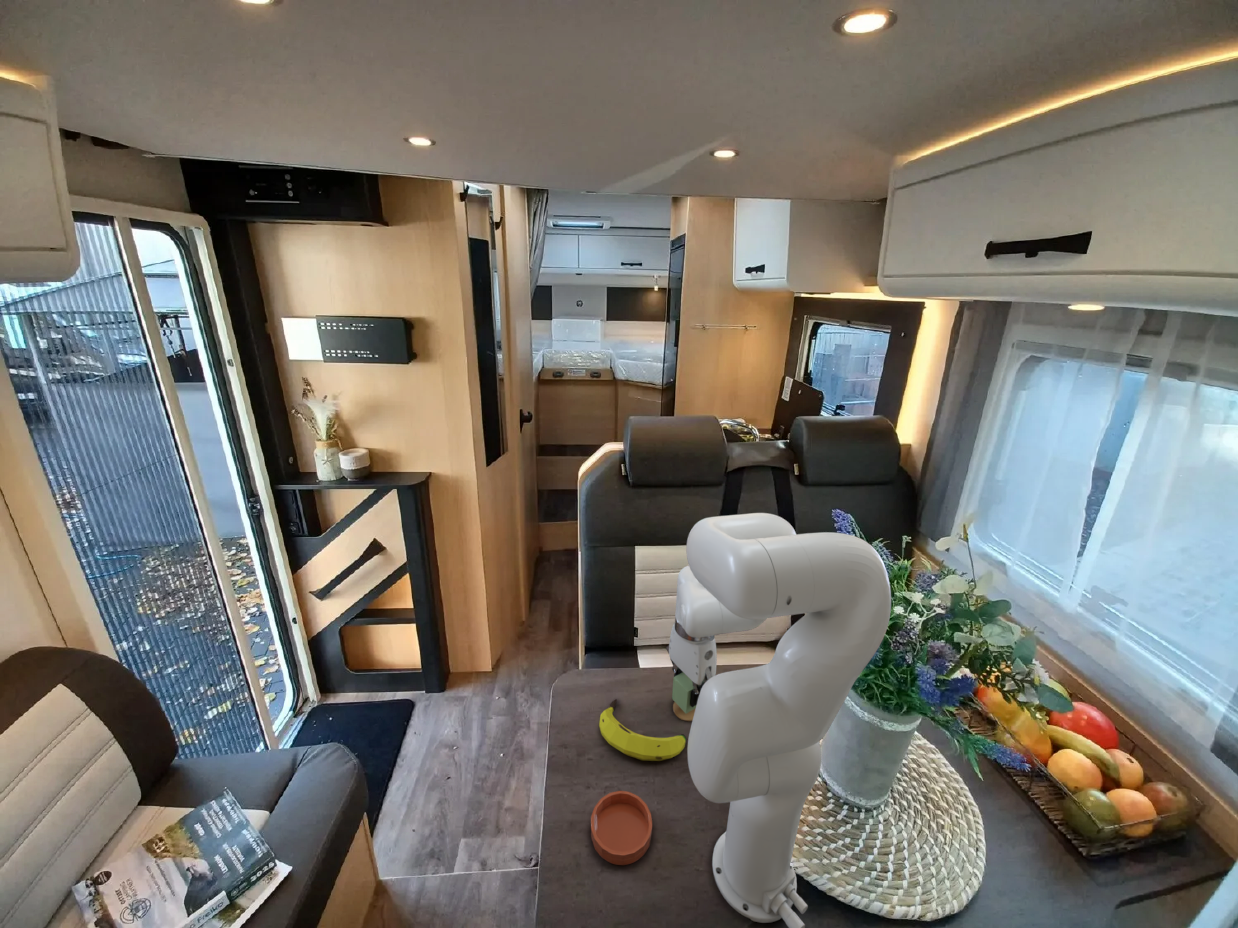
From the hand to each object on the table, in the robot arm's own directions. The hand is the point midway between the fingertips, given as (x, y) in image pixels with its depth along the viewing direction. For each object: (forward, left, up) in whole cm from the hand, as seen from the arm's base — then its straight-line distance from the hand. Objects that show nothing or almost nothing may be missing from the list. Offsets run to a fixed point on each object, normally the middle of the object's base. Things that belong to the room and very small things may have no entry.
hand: (687, 693), depth 102 cm
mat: (0, 0, -4) cm, 4 cm away
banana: (0, +12, -4) cm, 12 cm away
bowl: (-13, +26, -4) cm, 29 cm away
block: (0, 0, -2) cm, 2 cm away
